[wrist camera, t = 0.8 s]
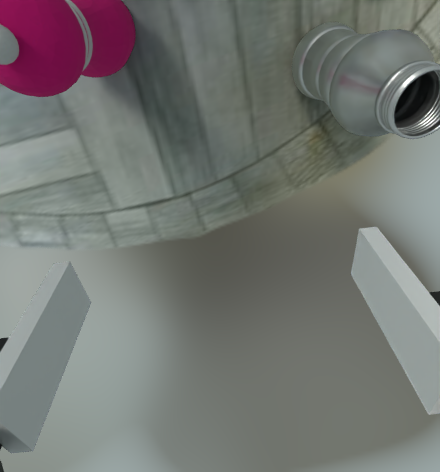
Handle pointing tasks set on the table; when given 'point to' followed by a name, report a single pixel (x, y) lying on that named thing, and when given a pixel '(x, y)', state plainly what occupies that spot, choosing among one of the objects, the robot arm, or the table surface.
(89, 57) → the pepper mill
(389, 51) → the plastic bottle
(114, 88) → the table surface
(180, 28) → the table surface
